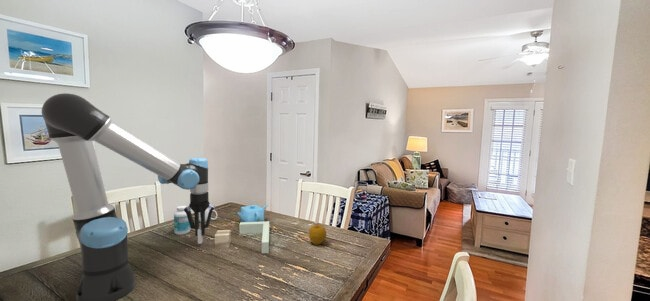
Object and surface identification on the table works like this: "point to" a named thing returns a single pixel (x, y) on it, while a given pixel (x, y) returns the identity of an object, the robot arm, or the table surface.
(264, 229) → the fence
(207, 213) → the mug
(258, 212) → the teapot
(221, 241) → the maple block
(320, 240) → the apple
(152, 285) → the table surface
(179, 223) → the pill bottle
